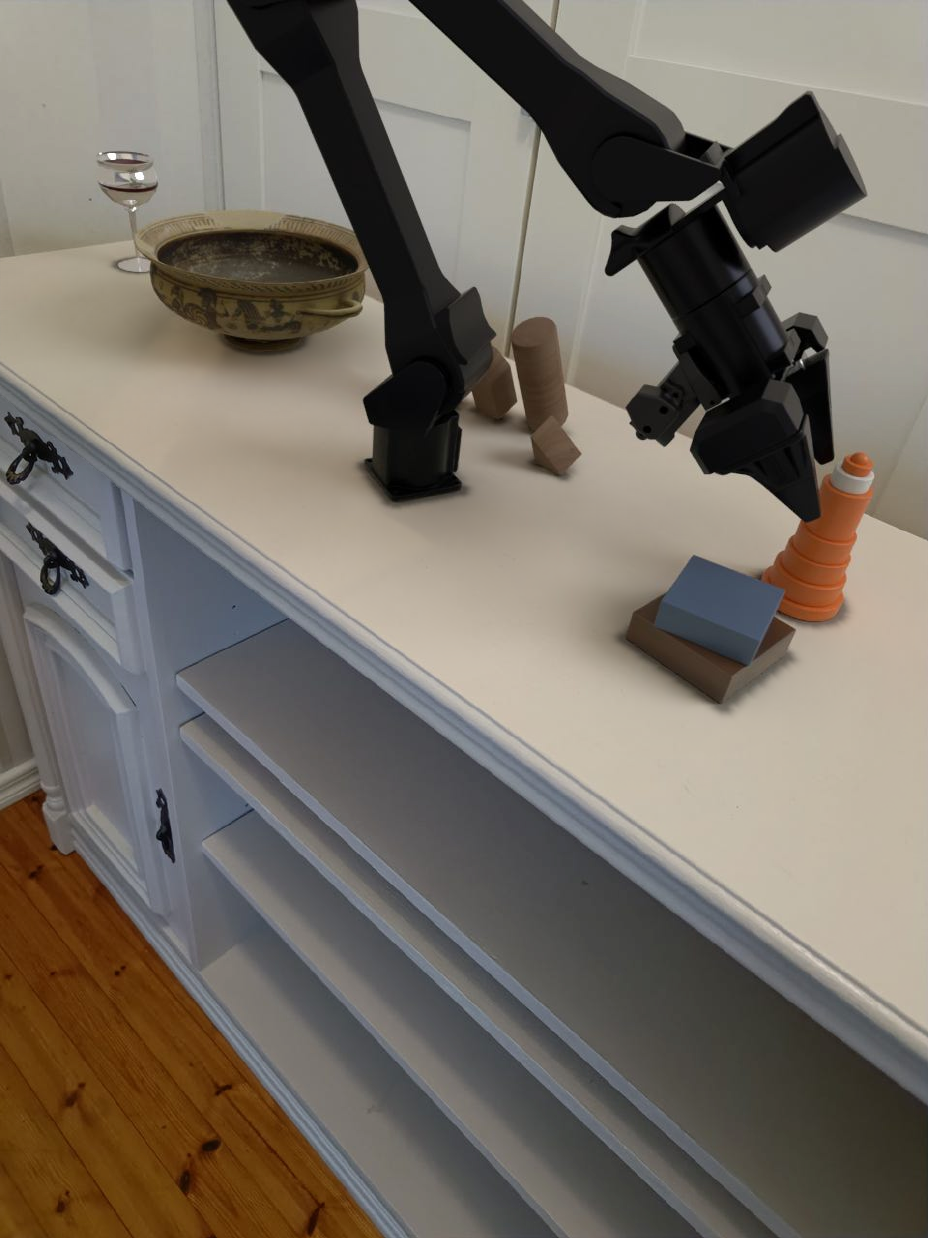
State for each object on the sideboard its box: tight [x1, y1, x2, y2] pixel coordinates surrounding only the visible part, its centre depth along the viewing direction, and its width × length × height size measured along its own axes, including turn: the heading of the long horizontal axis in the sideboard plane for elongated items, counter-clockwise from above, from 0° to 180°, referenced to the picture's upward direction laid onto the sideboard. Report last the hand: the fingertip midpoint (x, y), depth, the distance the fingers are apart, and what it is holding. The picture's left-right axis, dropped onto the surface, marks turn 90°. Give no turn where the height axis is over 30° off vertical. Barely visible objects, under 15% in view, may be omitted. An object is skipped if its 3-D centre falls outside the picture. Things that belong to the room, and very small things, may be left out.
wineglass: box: [93, 150, 159, 273], centre depth 102 cm, size 7×7×12 cm
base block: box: [625, 591, 797, 704], centre depth 58 cm, size 8×8×2 cm
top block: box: [654, 554, 785, 666], centre depth 57 cm, size 7×7×2 cm
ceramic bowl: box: [135, 209, 370, 352], centre depth 89 cm, size 30×24×10 cm
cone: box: [760, 451, 875, 622], centre depth 61 cm, size 6×6×12 cm
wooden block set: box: [471, 316, 582, 476], centre depth 78 cm, size 18×9×10 cm, turn 47°
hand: (821, 489), depth 60 cm, fingers open, 9 cm apart
